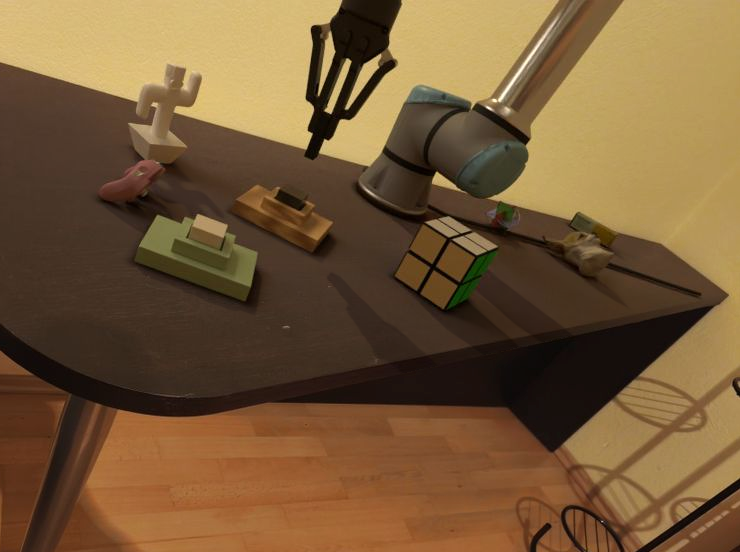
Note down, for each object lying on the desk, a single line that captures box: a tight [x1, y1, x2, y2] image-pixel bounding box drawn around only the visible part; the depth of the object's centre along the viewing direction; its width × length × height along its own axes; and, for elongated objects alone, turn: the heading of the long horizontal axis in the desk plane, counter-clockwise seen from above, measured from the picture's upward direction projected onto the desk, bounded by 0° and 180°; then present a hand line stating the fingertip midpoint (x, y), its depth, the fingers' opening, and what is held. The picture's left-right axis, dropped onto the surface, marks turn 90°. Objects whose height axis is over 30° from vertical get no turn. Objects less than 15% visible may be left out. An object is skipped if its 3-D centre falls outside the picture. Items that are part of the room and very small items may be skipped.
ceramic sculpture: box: [541, 230, 615, 278], centre depth 142 cm, size 11×9×15 cm
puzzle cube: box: [393, 216, 500, 312], centre depth 100 cm, size 10×10×10 cm
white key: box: [188, 213, 229, 250], centre depth 78 cm, size 4×4×2 cm
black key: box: [275, 182, 310, 211], centre depth 99 cm, size 4×4×2 cm
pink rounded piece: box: [98, 159, 166, 203], centre depth 88 cm, size 10×5×7 cm, turn 168°
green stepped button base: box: [134, 214, 259, 302], centre depth 80 cm, size 14×10×4 cm
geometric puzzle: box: [484, 199, 521, 236], centre depth 142 cm, size 7×7×8 cm
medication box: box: [568, 211, 619, 248], centre depth 172 cm, size 12×3×4 cm, turn 46°
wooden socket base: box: [231, 184, 334, 253], centre depth 100 cm, size 14×10×4 cm
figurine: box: [127, 61, 203, 165], centre depth 100 cm, size 7×9×15 cm
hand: (310, 156), depth 96 cm, fingers closed
